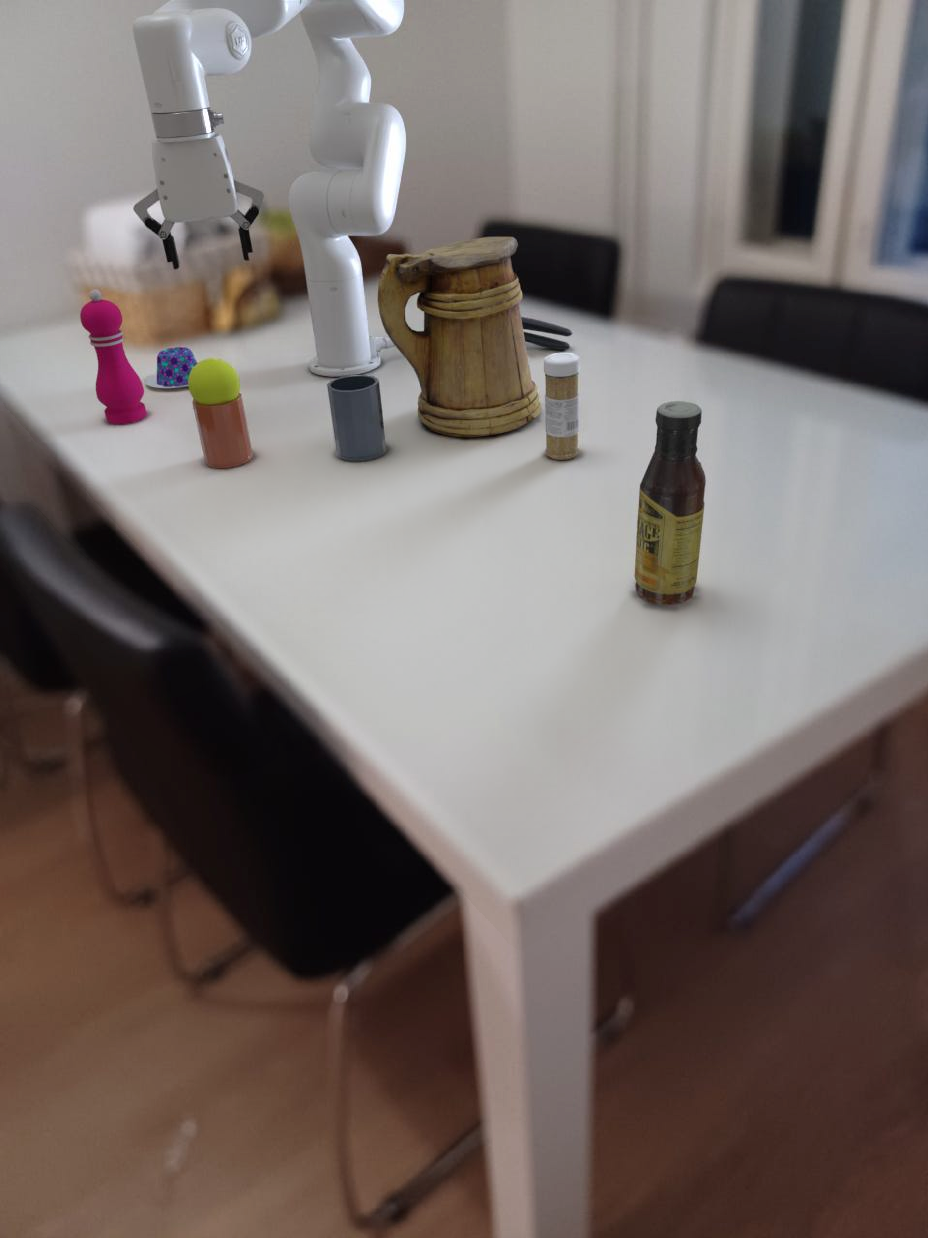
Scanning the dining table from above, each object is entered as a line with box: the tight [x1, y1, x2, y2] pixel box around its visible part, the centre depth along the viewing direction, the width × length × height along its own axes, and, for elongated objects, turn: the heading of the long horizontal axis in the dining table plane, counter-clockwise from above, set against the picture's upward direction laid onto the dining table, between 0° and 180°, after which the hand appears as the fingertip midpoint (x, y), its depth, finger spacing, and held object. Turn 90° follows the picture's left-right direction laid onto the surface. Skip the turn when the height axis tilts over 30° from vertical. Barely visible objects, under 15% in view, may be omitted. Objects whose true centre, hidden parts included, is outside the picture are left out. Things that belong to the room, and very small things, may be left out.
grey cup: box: [326, 374, 387, 463], centre depth 132 cm, size 7×7×10 cm
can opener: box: [521, 316, 573, 351], centre depth 172 cm, size 18×7×6 cm, turn 58°
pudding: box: [144, 346, 198, 389], centre depth 167 cm, size 12×12×5 cm
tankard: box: [377, 236, 542, 438], centre depth 137 cm, size 18×24×25 cm
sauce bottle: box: [633, 400, 707, 606], centre depth 92 cm, size 7×6×20 cm
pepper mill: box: [79, 289, 148, 426], centre depth 148 cm, size 7×7×20 cm
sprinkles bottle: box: [543, 352, 580, 461], centre depth 126 cm, size 5×5×13 cm
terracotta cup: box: [191, 392, 254, 469], centre depth 133 cm, size 7×7×9 cm
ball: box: [187, 357, 241, 405], centre depth 130 cm, size 7×7×7 cm
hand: (211, 262), depth 133 cm, fingers open, 9 cm apart
